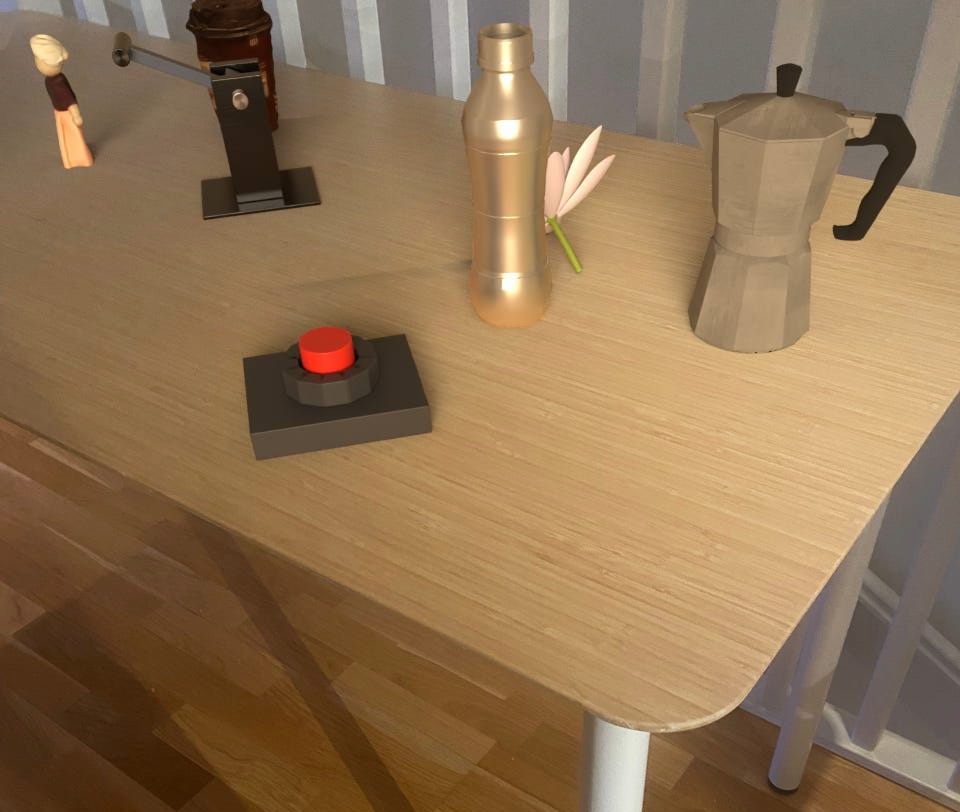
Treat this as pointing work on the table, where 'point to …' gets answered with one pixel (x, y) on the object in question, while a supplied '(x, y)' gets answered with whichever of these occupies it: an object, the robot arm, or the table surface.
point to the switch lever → (159, 61)
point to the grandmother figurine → (62, 100)
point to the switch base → (334, 399)
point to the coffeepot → (778, 205)
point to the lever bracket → (250, 151)
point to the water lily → (570, 187)
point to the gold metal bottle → (508, 179)
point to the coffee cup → (235, 40)
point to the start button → (326, 350)
